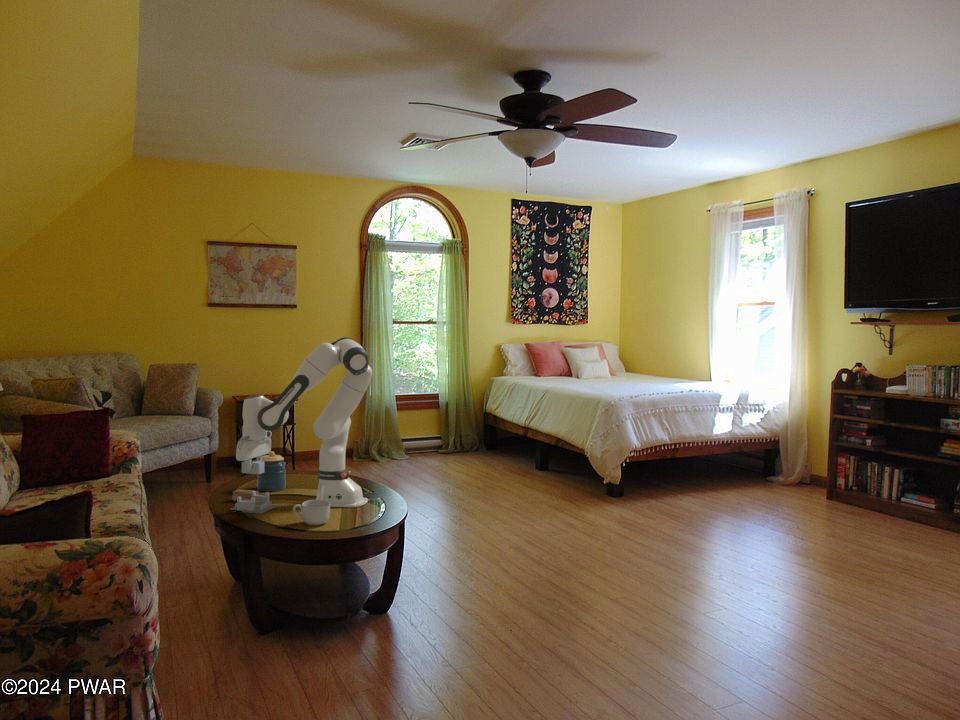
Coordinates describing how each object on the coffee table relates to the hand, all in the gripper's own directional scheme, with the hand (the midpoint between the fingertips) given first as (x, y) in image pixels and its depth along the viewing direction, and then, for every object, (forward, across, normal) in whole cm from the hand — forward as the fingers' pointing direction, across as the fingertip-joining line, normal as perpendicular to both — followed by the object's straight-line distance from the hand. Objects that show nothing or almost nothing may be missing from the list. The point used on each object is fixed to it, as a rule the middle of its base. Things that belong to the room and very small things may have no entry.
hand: (253, 468), depth 275 cm
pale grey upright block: (+2, 0, 0) cm, 2 cm away
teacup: (+17, -12, -33) cm, 39 cm away
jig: (+17, 0, 0) cm, 17 cm away
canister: (+17, +35, +13) cm, 41 cm away
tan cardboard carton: (+17, +11, +11) cm, 23 cm away
